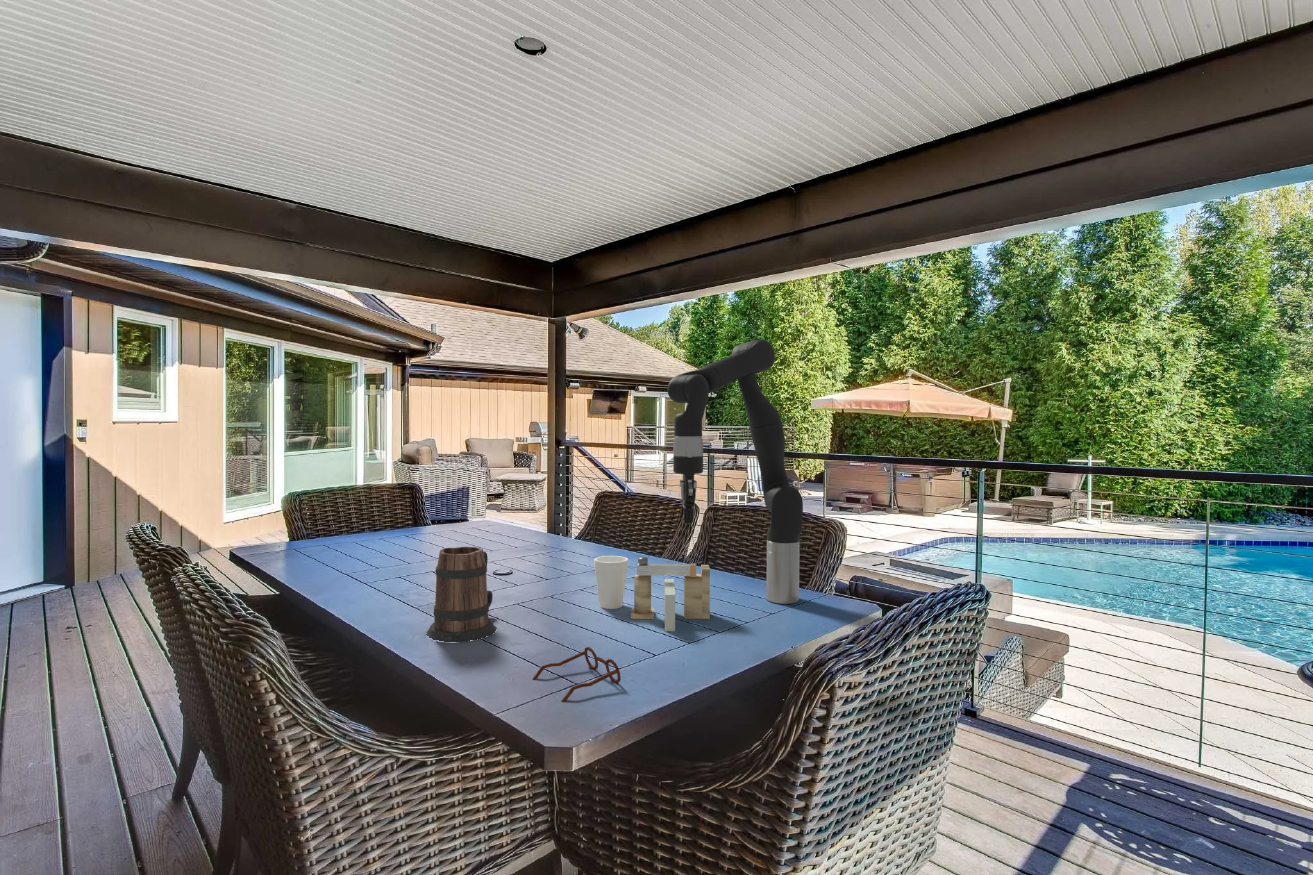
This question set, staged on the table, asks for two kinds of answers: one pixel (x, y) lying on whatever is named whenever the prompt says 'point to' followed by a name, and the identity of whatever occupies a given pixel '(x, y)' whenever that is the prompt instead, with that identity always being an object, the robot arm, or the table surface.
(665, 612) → the door edge
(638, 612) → the post
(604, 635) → the table surface
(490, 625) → the tankard
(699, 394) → the robot arm
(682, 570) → the bar
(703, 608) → the keeper
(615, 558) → the foam cup
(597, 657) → the glasses
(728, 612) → the table surface
